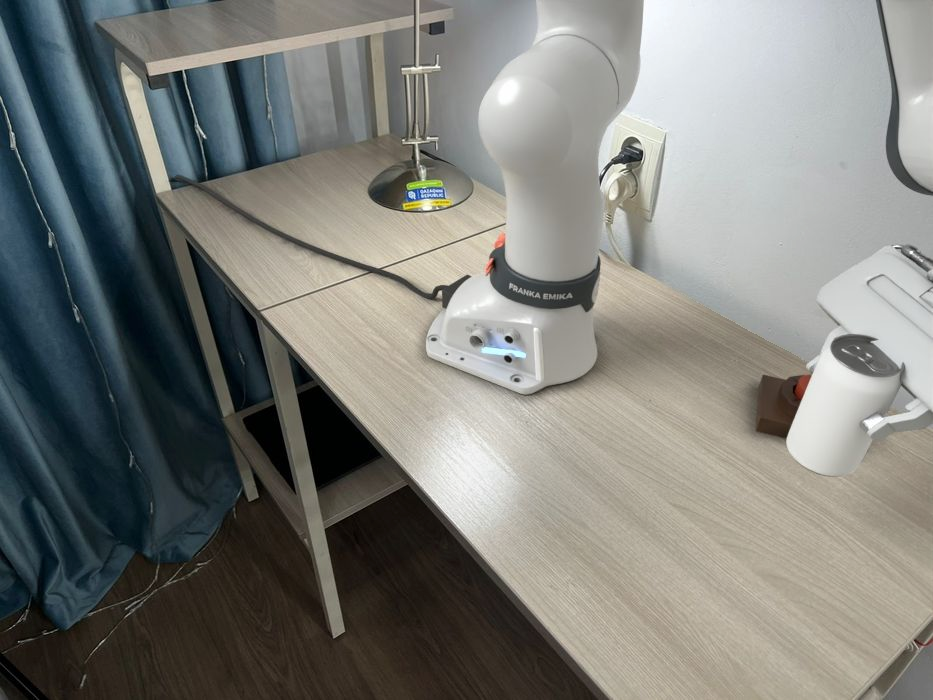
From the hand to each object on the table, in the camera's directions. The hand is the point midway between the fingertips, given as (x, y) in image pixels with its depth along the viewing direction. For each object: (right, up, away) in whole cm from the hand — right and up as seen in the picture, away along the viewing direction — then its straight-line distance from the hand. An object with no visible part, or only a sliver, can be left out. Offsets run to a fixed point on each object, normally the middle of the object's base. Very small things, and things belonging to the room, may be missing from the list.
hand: (839, 403), depth 61 cm
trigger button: (+7, -1, +18) cm, 19 cm away
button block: (+7, -3, +21) cm, 22 cm away
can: (+1, -5, +4) cm, 7 cm away
